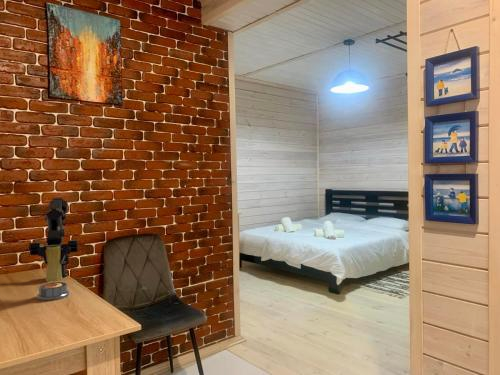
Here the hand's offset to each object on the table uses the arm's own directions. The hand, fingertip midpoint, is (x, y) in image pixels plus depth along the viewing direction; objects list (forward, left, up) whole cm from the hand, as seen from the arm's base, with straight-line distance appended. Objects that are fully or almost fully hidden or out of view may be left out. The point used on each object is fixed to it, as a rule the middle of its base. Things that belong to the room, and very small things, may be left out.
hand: (53, 263), depth 161 cm
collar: (+1, 0, -13) cm, 13 cm away
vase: (-1, -1, -7) cm, 7 cm away
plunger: (+1, 0, -10) cm, 10 cm away
